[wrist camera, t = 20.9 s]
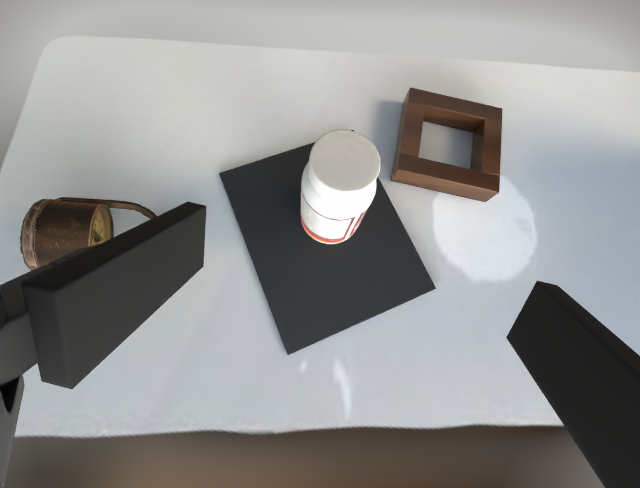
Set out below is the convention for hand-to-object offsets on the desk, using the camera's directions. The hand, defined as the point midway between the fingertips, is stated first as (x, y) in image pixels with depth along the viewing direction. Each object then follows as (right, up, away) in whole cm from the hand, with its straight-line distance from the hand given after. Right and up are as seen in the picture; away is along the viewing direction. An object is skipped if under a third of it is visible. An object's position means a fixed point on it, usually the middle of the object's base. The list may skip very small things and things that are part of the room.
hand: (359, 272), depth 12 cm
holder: (+13, +12, +24) cm, 30 cm away
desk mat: (-1, +3, +20) cm, 21 cm away
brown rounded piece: (-21, 0, +18) cm, 28 cm away
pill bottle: (-1, +4, +21) cm, 21 cm away
